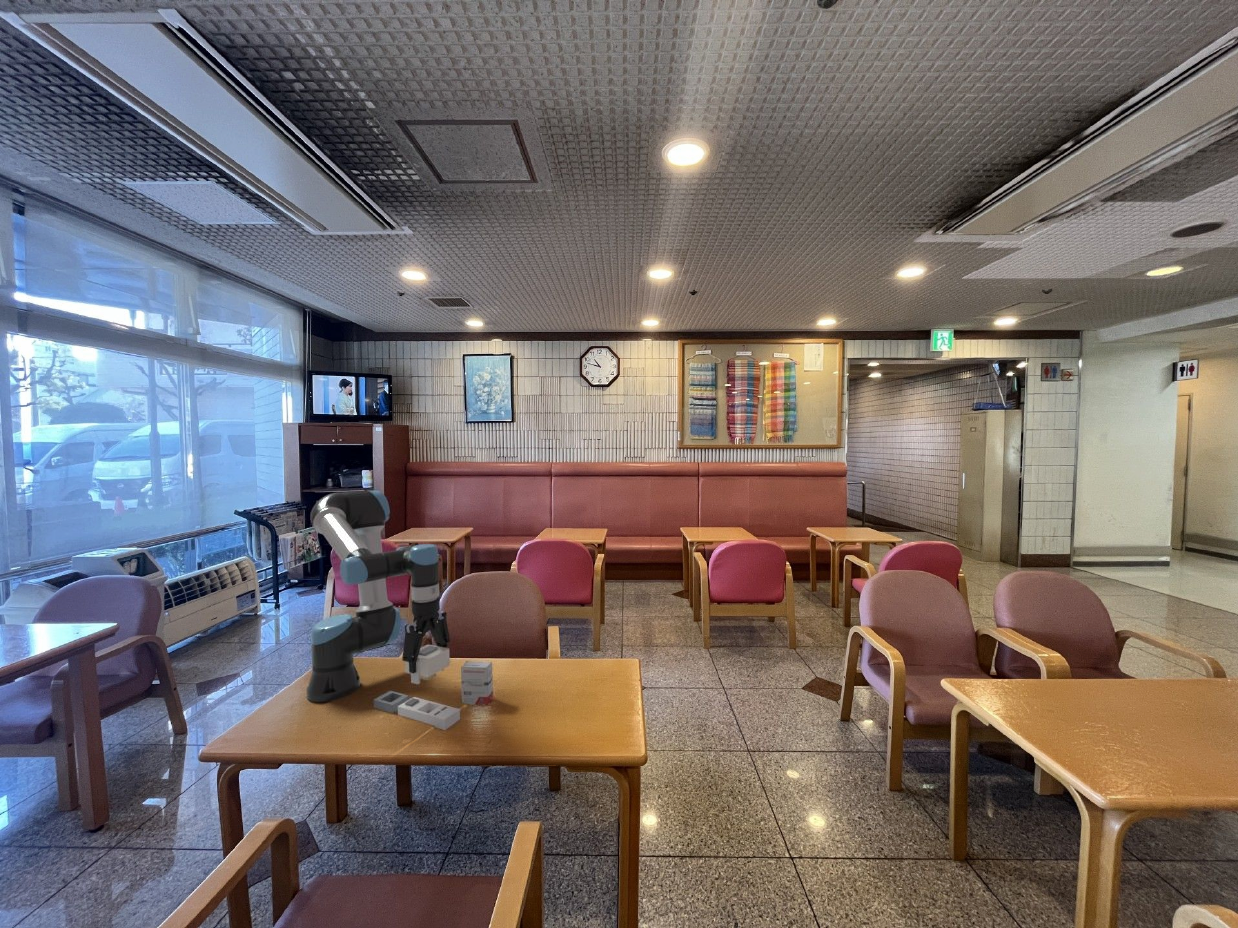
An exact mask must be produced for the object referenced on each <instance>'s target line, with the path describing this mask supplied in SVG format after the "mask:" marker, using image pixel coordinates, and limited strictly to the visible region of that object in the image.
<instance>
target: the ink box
mask: <svg viewBox="0 0 1238 928" xmlns="http://www.w3.org/2000/svg"><path fill="white" fill-rule="evenodd" d="M460 676H461V677H460V679H461V681H460V682H461V703H462V704H465V705H472V706H473V705H474V706H475V705H477V706H479V705H480V706H489V705H490V703H491V702H492V701H493V699H494V685H493V684H494V679H493V676H494V675H493V661H481V660H480V661H479V660H478V661H477V660H476V661H474V660H471V661H470V660H469V661H467V660H466V662H465V663H463V665H462V666H461V667H460Z"/></svg>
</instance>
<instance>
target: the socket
mask: <svg viewBox="0 0 1238 928" xmlns="http://www.w3.org/2000/svg"><path fill="white" fill-rule="evenodd" d="M397 715H398V716H400V717H403V718H407V719H410V720H414V721H418V722H421V723H425V724H428V725H430V726H431V725H432V727H433V728H436V729H439V730H443V731H446V730H447V729H449V728H450V727H452V726H453V725H455V724H456V723H457V722H459V721H460V720H461V709H460V708H457V707H453V706H449V705H446V704H443V703H438V702H435V701H431V700H427V699H423V698H420V697H415V696H413V697H411V698H409V700H408V701H406V702H404V703H403V704H401V705H399V706H398V711H397Z"/></svg>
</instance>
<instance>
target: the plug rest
mask: <svg viewBox="0 0 1238 928" xmlns="http://www.w3.org/2000/svg"><path fill="white" fill-rule="evenodd" d="M409 699H410V695H407V694H404V693H402V692H401V693H400V692H397V691H393V690H388V691H387V692H385V693H383V694H381V695H380V696H377V697H376V698H373V708H374V709H377V710H380V711H383V712H387V713H390V714H394V713H396V712H398V706H399V705H401V704H403V703H404V702H406V701H408V700H409Z"/></svg>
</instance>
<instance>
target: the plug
mask: <svg viewBox="0 0 1238 928" xmlns="http://www.w3.org/2000/svg"><path fill="white" fill-rule="evenodd" d="M417 660H420V680H424V681H430V680H431V679H434V678H435V677H436V676H437V673H438V672H440V671H441V670H442V669H444V670H445V669H446V668H447V667H450V665H451V661H450V648H449V647H447V648H444V647H439V646H437V645H433V644H425V645H423V646H421V648H420V651H419V655H418V658H417ZM404 665H405V667H404V668H405V669H404V671H405V673H406V674H410V675H411V673H410V672H409V662H406V661H404Z"/></svg>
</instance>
